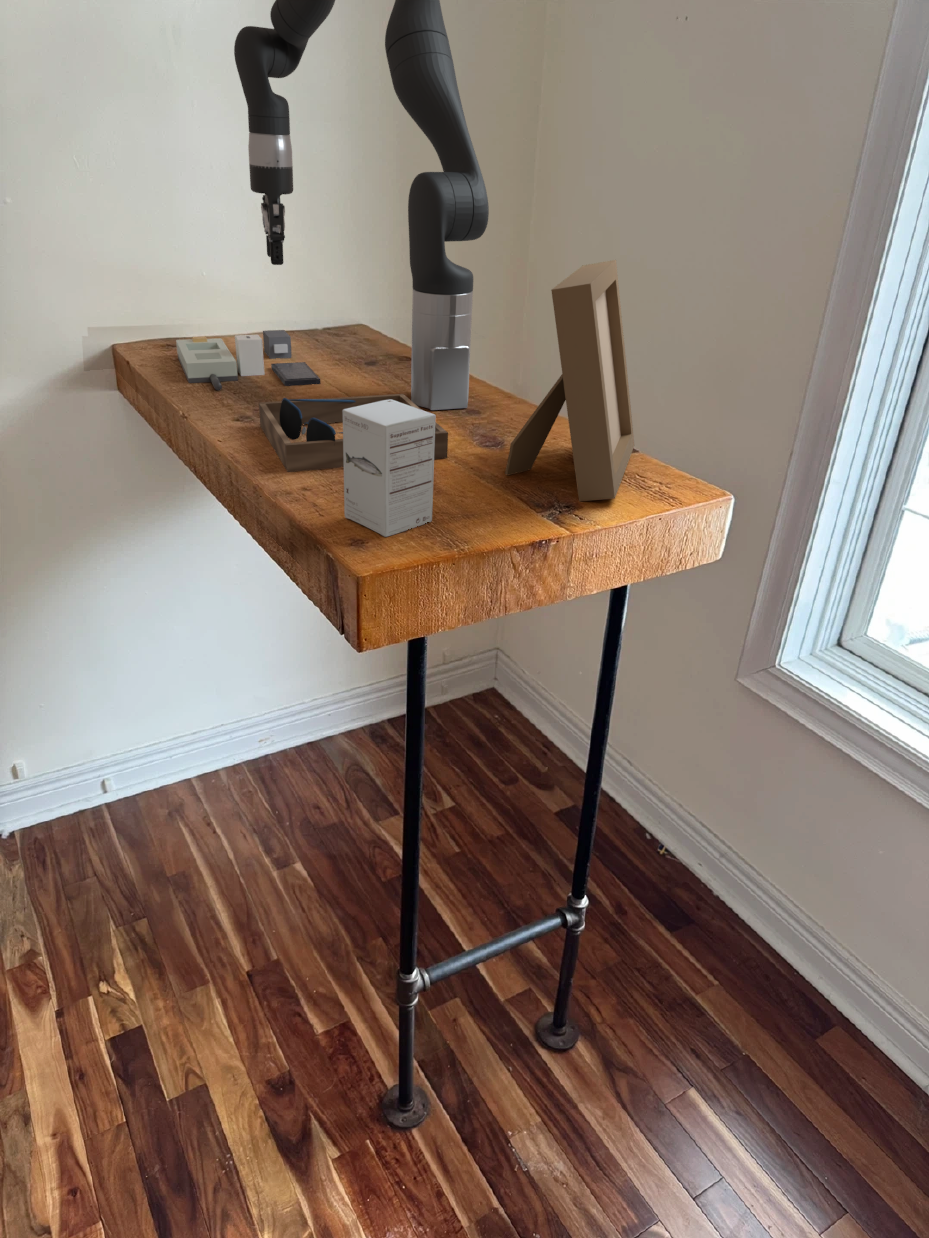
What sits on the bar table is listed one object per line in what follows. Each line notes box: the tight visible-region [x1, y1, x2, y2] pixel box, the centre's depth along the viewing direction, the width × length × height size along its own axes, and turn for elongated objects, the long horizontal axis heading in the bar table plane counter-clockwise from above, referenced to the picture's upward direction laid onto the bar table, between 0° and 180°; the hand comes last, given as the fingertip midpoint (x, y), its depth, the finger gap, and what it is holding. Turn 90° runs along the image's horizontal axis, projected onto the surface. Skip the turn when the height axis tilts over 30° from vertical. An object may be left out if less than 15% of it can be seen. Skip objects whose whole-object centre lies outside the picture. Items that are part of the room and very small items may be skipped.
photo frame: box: [504, 259, 635, 502], centre depth 111 cm, size 15×22×25 cm
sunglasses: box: [280, 397, 356, 445], centre depth 123 cm, size 17×15×5 cm
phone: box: [270, 361, 321, 387], centre depth 153 cm, size 12×6×1 cm, turn 21°
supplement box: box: [342, 399, 437, 538], centre depth 97 cm, size 7×7×13 cm
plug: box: [262, 329, 293, 360], centre depth 165 cm, size 7×4×4 cm, turn 21°
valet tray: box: [258, 393, 449, 473], centre depth 123 cm, size 20×22×4 cm
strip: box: [175, 335, 239, 391], centre depth 152 cm, size 24×8×4 cm, turn 21°
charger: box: [234, 334, 265, 377], centre depth 153 cm, size 4×4×6 cm
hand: (275, 260), depth 165 cm, fingers open, 8 cm apart
